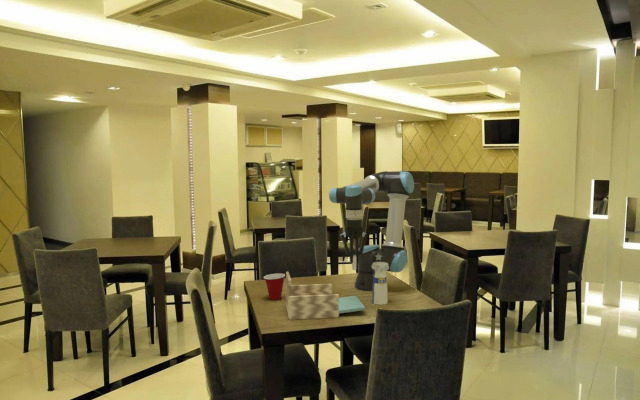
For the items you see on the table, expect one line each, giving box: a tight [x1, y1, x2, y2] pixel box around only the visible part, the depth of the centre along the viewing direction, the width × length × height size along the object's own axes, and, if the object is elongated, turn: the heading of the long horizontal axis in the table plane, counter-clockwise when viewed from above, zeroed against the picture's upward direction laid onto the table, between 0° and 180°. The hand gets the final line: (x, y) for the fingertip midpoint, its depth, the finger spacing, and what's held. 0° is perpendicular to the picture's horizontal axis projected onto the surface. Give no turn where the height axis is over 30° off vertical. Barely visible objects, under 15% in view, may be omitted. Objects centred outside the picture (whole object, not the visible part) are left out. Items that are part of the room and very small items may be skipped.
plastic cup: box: [263, 273, 286, 301], centre depth 237 cm, size 11×11×12 cm
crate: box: [285, 271, 340, 321], centre depth 215 cm, size 22×20×17 cm
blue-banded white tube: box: [371, 254, 389, 306], centre depth 229 cm, size 8×9×25 cm
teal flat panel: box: [339, 295, 366, 314], centre depth 218 cm, size 2×19×12 cm
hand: (354, 269), depth 218 cm, fingers closed
